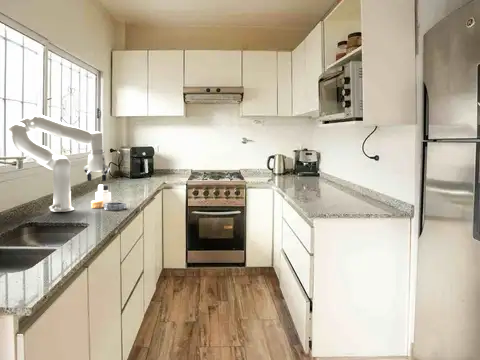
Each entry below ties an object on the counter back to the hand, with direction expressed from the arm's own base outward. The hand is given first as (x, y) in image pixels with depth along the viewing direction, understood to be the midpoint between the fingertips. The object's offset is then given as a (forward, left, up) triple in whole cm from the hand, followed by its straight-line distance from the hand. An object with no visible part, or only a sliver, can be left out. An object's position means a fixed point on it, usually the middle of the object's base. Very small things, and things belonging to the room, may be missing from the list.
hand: (96, 181), depth 286 cm
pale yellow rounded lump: (0, 0, -16) cm, 16 cm away
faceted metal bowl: (-2, -13, -16) cm, 21 cm away
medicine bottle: (+16, +5, -16) cm, 23 cm away
